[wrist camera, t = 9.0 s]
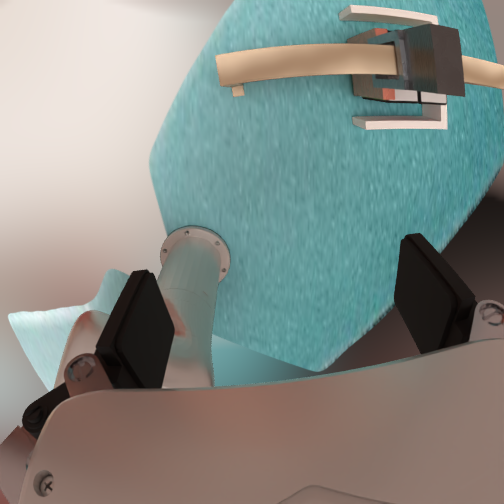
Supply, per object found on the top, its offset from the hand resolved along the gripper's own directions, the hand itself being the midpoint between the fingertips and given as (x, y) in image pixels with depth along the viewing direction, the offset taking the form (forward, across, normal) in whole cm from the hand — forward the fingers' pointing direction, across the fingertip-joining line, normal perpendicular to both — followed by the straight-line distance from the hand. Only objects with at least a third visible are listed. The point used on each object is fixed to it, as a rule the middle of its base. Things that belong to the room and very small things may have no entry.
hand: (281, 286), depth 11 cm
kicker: (+37, -16, -9) cm, 41 cm away
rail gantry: (+38, -15, -9) cm, 42 cm away
